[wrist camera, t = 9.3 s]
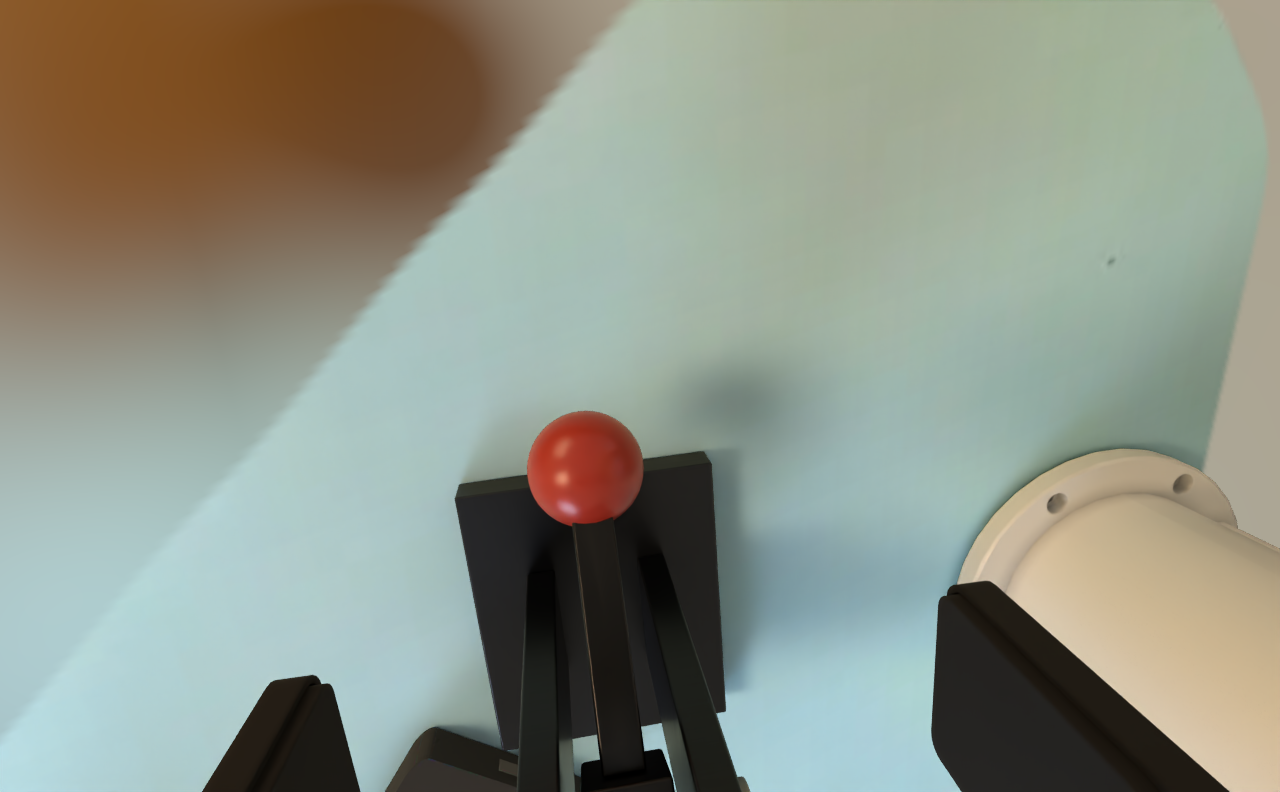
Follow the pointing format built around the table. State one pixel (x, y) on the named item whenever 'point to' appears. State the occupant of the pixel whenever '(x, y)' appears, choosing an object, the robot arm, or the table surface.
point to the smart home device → (456, 766)
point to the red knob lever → (600, 583)
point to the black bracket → (554, 628)
